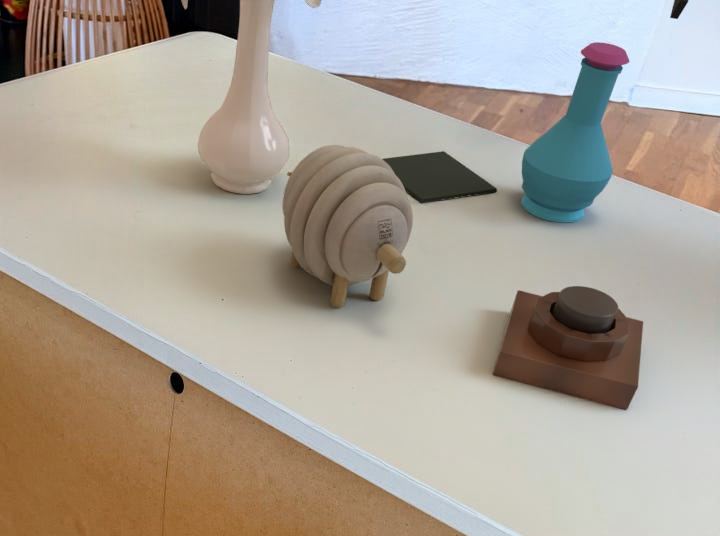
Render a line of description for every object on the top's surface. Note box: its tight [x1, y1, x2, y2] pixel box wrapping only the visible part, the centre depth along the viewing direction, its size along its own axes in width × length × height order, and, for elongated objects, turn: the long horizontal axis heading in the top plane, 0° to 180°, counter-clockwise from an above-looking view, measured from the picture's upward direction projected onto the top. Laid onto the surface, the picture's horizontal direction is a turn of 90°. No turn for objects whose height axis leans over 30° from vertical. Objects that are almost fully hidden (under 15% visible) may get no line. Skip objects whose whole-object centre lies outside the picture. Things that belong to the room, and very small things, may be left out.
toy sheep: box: [282, 144, 414, 309], centre depth 79 cm, size 11×17×11 cm, turn 31°
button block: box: [492, 289, 644, 411], centre depth 77 cm, size 11×11×4 cm
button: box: [552, 285, 619, 334], centre depth 75 cm, size 5×5×2 cm
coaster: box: [381, 150, 498, 204], centre depth 100 cm, size 10×10×1 cm
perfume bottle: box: [521, 41, 630, 223], centre depth 93 cm, size 9×9×15 cm
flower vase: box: [181, 0, 322, 195], centre depth 85 cm, size 13×18×25 cm
